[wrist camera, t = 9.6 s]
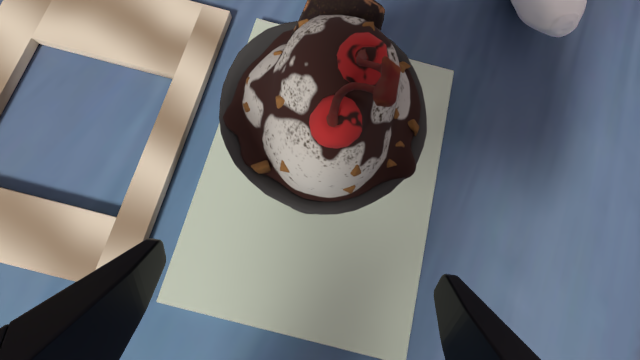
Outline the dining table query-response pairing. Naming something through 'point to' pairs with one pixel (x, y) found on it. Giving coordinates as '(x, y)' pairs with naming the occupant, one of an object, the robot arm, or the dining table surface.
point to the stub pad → (310, 250)
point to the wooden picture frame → (164, 141)
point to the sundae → (324, 109)
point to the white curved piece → (550, 15)
